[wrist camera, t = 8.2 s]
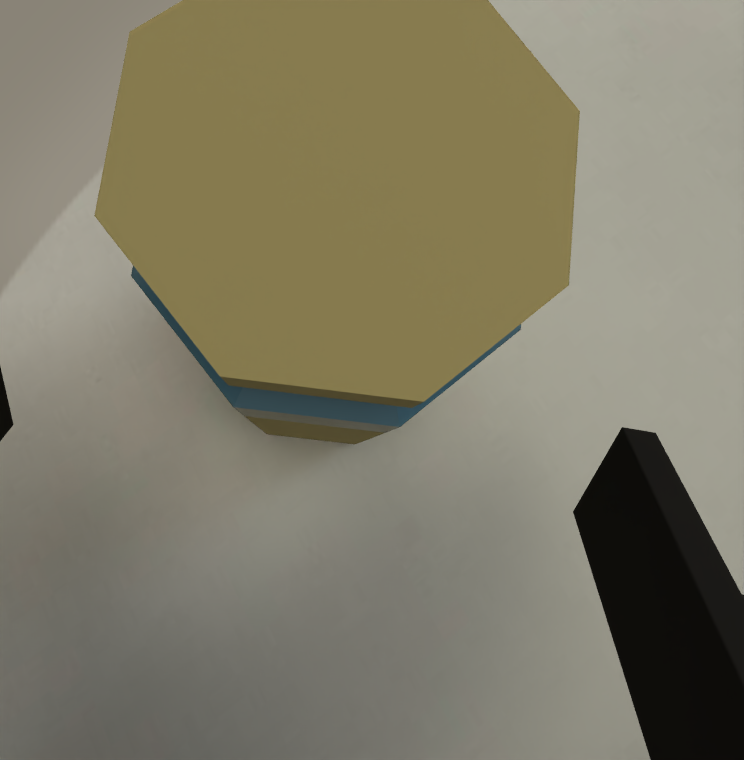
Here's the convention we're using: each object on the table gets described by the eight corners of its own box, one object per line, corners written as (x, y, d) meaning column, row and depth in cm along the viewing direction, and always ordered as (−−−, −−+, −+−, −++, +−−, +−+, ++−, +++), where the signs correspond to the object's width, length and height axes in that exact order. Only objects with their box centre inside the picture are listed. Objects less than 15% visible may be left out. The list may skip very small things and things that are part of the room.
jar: (187, 262, 25) (17, -33, 10) (396, 213, 26) (516, -109, 11) (243, 476, 24) (146, 496, 9) (457, 414, 25) (674, 345, 10)
